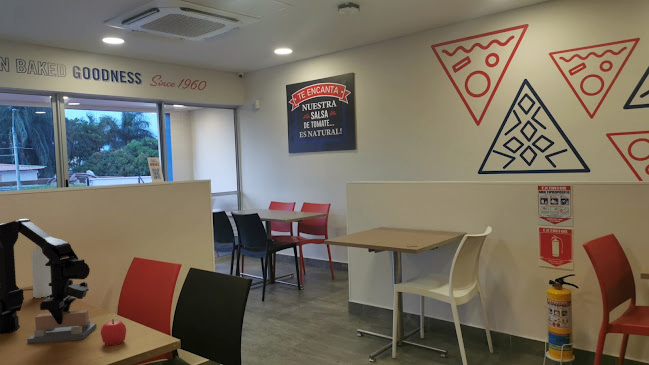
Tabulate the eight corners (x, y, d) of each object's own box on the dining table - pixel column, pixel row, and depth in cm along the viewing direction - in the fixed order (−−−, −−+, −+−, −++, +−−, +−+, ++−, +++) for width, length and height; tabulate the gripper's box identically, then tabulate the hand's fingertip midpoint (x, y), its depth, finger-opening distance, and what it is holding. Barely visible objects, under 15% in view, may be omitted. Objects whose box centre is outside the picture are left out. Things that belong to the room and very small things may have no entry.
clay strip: (35, 329, 162) (35, 316, 162) (39, 326, 165) (39, 313, 165) (85, 325, 165) (85, 312, 165) (88, 322, 168) (88, 309, 168)
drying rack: (27, 343, 158) (26, 333, 158) (44, 331, 170) (43, 321, 170) (83, 339, 160) (82, 329, 160) (96, 327, 172) (95, 318, 172)
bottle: (53, 296, 220) (49, 232, 219) (33, 299, 215) (29, 234, 214) (52, 292, 226) (49, 231, 225) (33, 295, 222) (29, 232, 221)
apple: (117, 337, 161) (115, 314, 161) (132, 341, 157) (131, 317, 157) (95, 345, 154) (94, 321, 154) (111, 349, 150) (109, 324, 150)
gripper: (73, 283, 156) (75, 329, 157) (94, 271, 175) (96, 312, 175) (37, 285, 155) (40, 332, 155) (62, 273, 173) (64, 314, 174)
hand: (62, 322), depth 165 cm, fingers closed on clay strip, 4 cm apart
